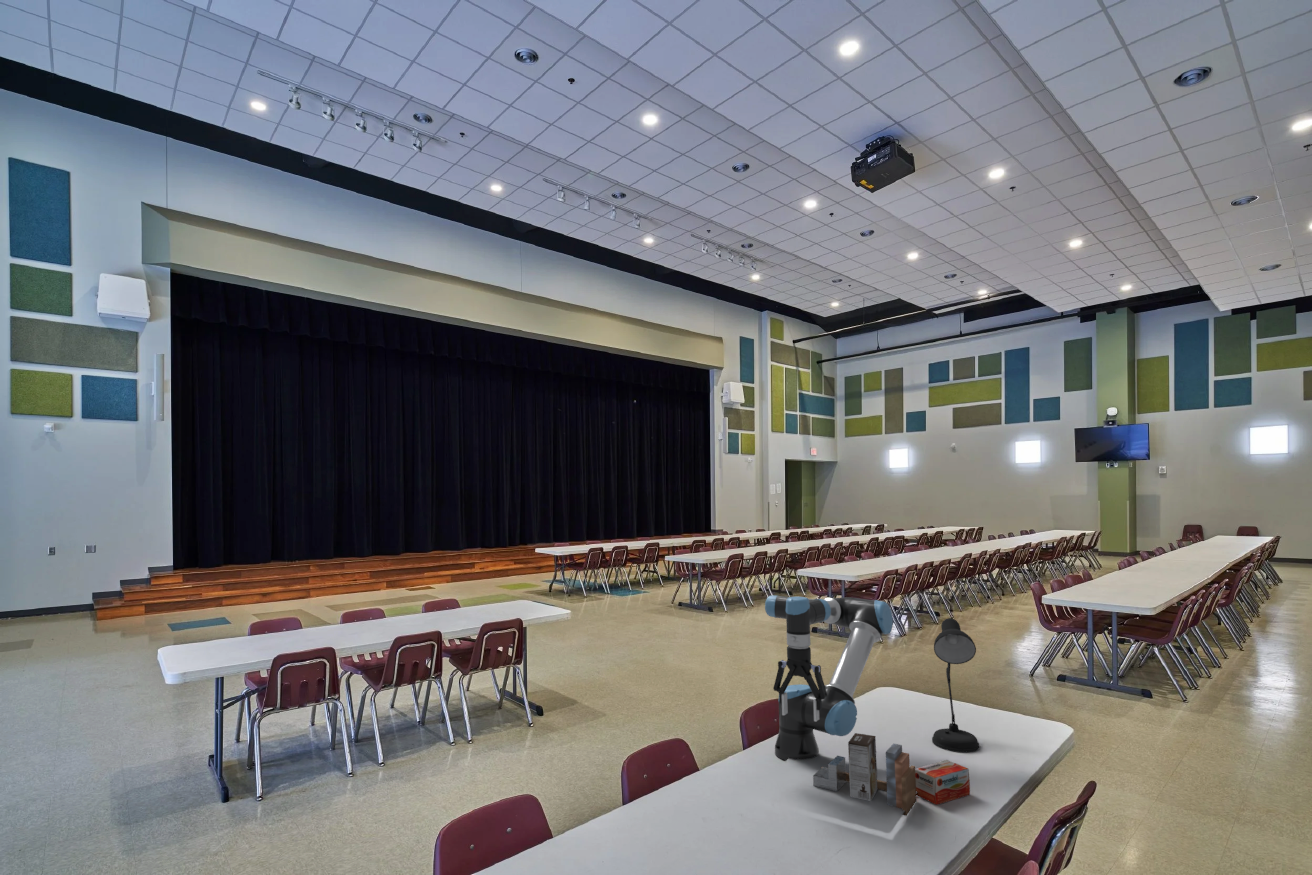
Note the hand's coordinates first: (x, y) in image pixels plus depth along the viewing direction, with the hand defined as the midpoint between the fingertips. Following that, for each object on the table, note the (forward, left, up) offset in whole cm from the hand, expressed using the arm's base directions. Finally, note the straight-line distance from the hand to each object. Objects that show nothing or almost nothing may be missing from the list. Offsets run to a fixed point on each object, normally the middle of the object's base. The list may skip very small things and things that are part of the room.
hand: (800, 717), depth 213 cm
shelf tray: (+19, 0, -20) cm, 27 cm away
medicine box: (+39, +15, -20) cm, 46 cm away
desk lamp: (+34, +60, -20) cm, 71 cm away
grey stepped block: (+9, 0, -18) cm, 21 cm away
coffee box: (+20, 0, -19) cm, 27 cm away
